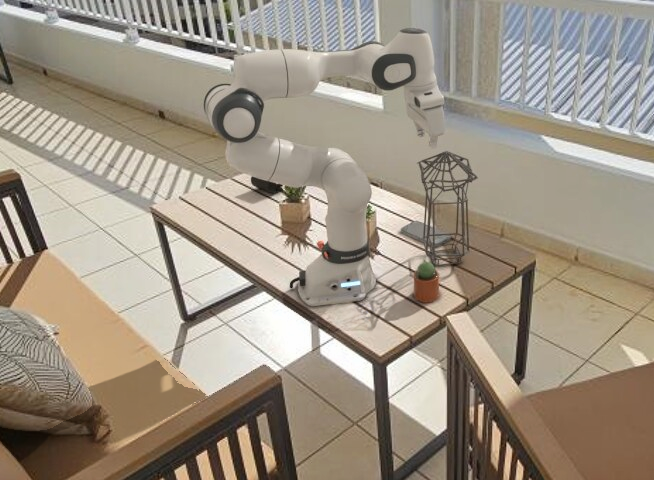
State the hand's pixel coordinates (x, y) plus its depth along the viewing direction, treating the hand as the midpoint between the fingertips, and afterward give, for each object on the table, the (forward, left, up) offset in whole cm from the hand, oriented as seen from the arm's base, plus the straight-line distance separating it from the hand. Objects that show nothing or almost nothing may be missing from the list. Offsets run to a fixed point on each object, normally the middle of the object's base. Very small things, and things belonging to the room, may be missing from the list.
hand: (427, 141), depth 169 cm
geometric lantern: (+6, 0, -39) cm, 40 cm away
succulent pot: (-7, -16, -39) cm, 43 cm away
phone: (+5, +15, -39) cm, 42 cm away
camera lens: (-37, +71, -39) cm, 89 cm away
